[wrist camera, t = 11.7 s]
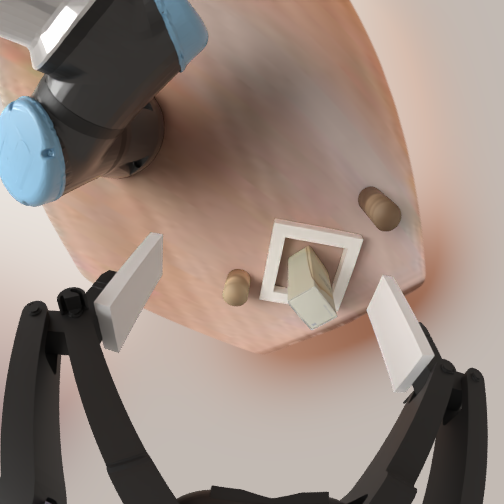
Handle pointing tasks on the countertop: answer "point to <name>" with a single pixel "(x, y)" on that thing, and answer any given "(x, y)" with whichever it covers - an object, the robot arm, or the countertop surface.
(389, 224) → the mid walnut dowel
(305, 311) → the skincare box
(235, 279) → the short oak dowel
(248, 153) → the countertop surface
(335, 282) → the white square frame
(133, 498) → the robot arm
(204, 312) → the countertop surface
